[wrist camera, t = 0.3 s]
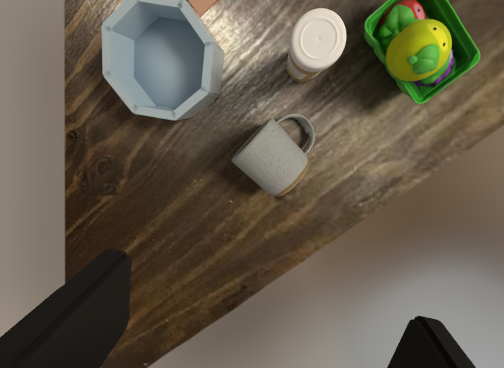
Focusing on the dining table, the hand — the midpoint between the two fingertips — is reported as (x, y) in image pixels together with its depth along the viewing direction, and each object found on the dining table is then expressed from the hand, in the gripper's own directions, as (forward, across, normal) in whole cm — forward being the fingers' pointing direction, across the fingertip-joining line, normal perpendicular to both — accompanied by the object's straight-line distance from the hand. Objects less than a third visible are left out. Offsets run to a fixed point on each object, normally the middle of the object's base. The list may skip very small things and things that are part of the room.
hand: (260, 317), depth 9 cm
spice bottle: (+31, -1, -12) cm, 33 cm away
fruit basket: (+31, -13, -15) cm, 37 cm away
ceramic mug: (+31, 0, -1) cm, 31 cm away
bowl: (+30, +16, -9) cm, 35 cm away
